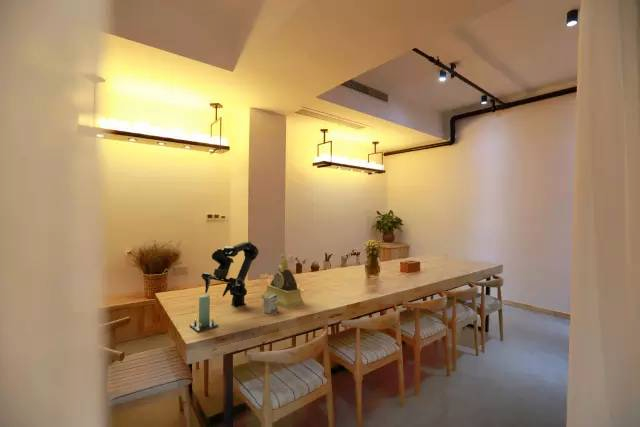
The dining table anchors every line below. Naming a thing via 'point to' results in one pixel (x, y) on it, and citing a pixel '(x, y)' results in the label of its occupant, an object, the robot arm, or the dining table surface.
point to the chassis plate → (199, 328)
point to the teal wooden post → (204, 310)
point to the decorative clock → (284, 287)
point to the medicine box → (270, 303)
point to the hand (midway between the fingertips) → (214, 294)
